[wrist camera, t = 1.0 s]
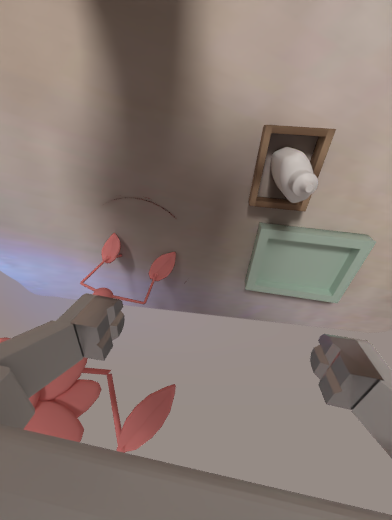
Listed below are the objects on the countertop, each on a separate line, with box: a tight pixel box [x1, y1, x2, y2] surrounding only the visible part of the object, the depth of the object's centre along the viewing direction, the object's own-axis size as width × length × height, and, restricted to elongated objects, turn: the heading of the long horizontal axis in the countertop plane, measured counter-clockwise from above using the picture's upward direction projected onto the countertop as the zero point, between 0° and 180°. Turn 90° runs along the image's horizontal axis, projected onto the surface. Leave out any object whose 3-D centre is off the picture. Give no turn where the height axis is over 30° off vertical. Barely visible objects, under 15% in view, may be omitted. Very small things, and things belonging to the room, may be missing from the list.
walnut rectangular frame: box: [249, 125, 336, 211], centre depth 28 cm, size 10×8×2 cm
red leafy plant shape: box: [0, 197, 185, 453], centre depth 24 cm, size 15×26×35 cm, turn 71°
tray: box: [245, 223, 376, 303], centre depth 35 cm, size 17×13×2 cm
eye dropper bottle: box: [271, 147, 318, 203], centre depth 24 cm, size 4×6×12 cm
